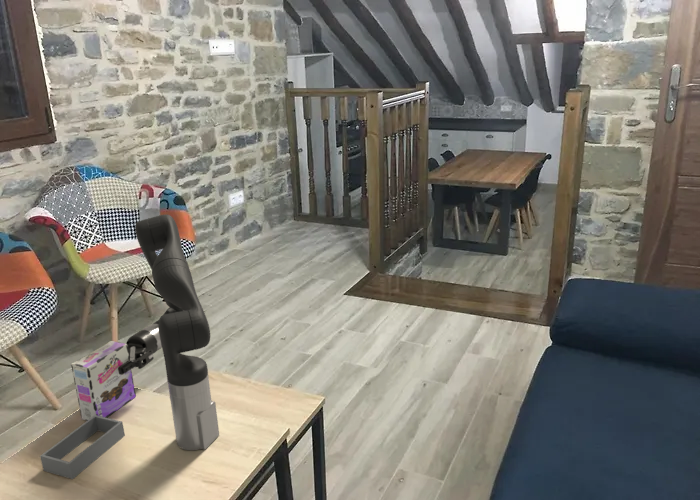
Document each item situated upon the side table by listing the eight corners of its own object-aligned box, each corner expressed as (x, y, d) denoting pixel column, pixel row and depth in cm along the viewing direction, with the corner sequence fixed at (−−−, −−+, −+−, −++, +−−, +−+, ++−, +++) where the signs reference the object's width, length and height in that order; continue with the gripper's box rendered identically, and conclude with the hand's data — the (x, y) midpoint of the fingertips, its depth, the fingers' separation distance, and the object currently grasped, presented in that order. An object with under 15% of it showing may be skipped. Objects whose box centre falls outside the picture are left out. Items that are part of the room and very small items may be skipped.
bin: (124, 435, 146) (122, 421, 145) (72, 479, 131) (69, 464, 130) (97, 428, 149) (94, 415, 148) (43, 470, 135) (40, 455, 133)
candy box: (98, 425, 151) (86, 367, 145) (81, 420, 153) (69, 363, 148) (137, 396, 163) (127, 342, 157) (120, 392, 165) (111, 339, 160)
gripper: (126, 326, 171) (83, 352, 157) (166, 332, 166) (126, 360, 152) (130, 349, 173) (88, 377, 159) (170, 356, 168) (130, 386, 154)
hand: (106, 368), depth 155 cm, fingers open, 8 cm apart
